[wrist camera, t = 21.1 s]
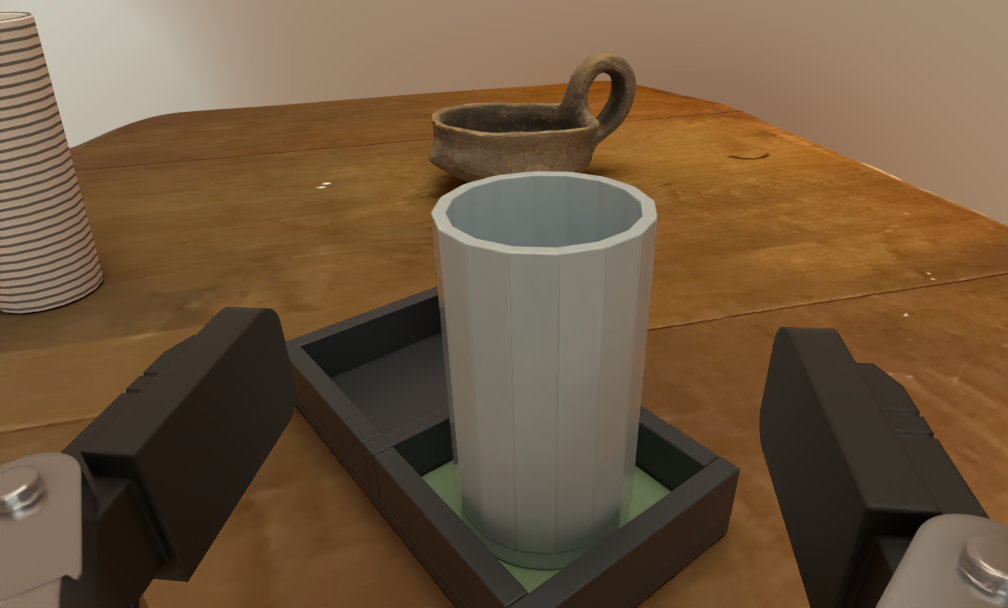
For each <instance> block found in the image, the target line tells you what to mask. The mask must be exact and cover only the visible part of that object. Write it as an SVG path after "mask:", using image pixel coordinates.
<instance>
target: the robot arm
mask: <svg viewBox="0 0 1008 608" xmlns="http://www.w3.org/2000/svg"><path fill="white" fill-rule="evenodd" d="M295 403H296V384H295V380H294V376H293V372H292V368H291V363H290V359H289V355H288V351H287V347H286V343H285V339H284V335H283V331H282V327H281V323H280V319H279V317H278V315H277V314H276V312H275V311H274V310H272V309H269V308H241V307H226V308H224V309H222V310H221V311H220V312H219V313H218V314H217V315H216V316H215V317H214V318H213V319H212V320H211V321H210V322H209V323H208V324H207V325H206V326H205V327H204V328H203V329H202V330H201V331H200V332H199V333H198V334H197V335H193V336H191V337H190V338H188V339H186V340H184V341H183V342H181V343H179V344H177V345H176V346H174V347H172V348H170V349H169V350H167V351H165V352H164V353H163V354H162V355H161V356H160V357H159V358H158V359H157V360H156V361H155V362H154V363H153V364H151V365H150V366H149V367H148V368H147V369H146V370H145V371H144V375H143V376H139V377H138V378H137V379H136V380H135V381H134V382H133V383H132V384H131V385H130V386H129V387H128V388H127V389H126V394H125V393H122V394H121V395H120V396H118V397H117V398H116V399H115V400H114V401H113V402H112V403H111V404H110V405H109V406H108V407H107V408H106V409H105V410H104V411H103V412H102V413H101V414H100V415H99V416H98V417H97V418H96V419H95V420H94V421H93V422H92V423H91V424H90V425H89V426H88V427H87V428H85V429H84V430H83V431H82V432H81V433H80V434H79V435H78V436H77V437H76V438H75V439H74V440H73V441H72V442H71V443H70V444H69V445H68V446H67V447H66V448H65V449H64V450H63V451H62V452H61V453H54V452H49V453H39V454H34V455H29V456H26V457H22V458H19V459H16V460H13V461H10V462H8V463H6V464H3V465H1V466H0V608H148V605H147V602H146V600H145V598H144V596H143V593H144V592H145V590H146V589H147V587H148V586H149V584H150V583H151V581H152V580H153V579H163V580H174V581H185V582H188V581H189V579H190V578H191V576H192V575H193V573H194V571H195V570H196V568H197V567H198V565H199V564H200V562H201V560H202V559H203V557H204V556H205V554H206V552H207V551H208V549H209V548H210V546H211V545H212V543H213V541H214V540H215V538H216V537H217V535H218V534H219V532H220V530H221V529H222V527H223V526H224V524H225V522H226V521H227V519H228V518H229V516H230V515H231V513H232V511H233V510H234V508H235V507H236V505H237V504H238V502H239V500H240V499H241V497H242V496H243V494H244V492H245V491H246V489H247V488H248V486H249V485H250V483H251V481H252V480H253V478H254V477H255V475H256V474H257V472H258V470H259V469H260V467H261V466H262V464H263V462H264V461H265V459H266V458H267V456H268V455H269V453H270V451H271V450H272V448H273V447H274V445H275V444H276V442H277V440H278V439H279V437H280V436H281V434H282V432H283V431H284V429H285V428H286V426H287V425H288V423H289V421H290V419H291V417H292V415H293V412H294V408H295ZM933 435H934V433H933V431H932V430H931V428H930V427H929V425H928V424H927V422H926V421H925V419H924V418H923V417H920V416H919V410H918V408H917V407H916V405H915V404H914V402H913V401H912V399H911V398H910V396H909V395H908V393H907V392H906V390H905V389H904V387H903V386H902V385H901V384H899V383H898V382H897V381H896V380H894V379H893V378H892V377H890V376H889V375H888V374H886V373H885V372H884V371H882V370H881V369H880V368H878V367H877V366H876V365H874V364H869V363H856V362H855V361H854V359H853V357H852V355H851V354H850V352H849V350H848V349H847V347H846V345H845V343H844V342H843V340H842V338H841V336H840V335H839V333H838V332H837V331H836V330H835V329H825V328H796V327H781V328H779V330H778V331H777V333H776V336H775V339H774V344H773V349H772V354H771V359H770V364H769V369H768V374H767V379H766V384H765V389H764V394H763V399H762V404H761V410H760V439H761V446H762V450H763V453H764V457H765V460H766V463H767V466H768V470H769V473H770V476H771V480H772V483H773V486H774V489H775V493H776V496H777V499H778V502H779V506H780V509H781V512H782V516H783V519H784V522H785V525H786V529H787V532H788V535H789V538H790V542H791V545H792V548H793V552H794V555H795V558H796V561H797V565H798V568H799V571H800V574H801V578H802V581H803V584H804V588H805V591H806V594H807V597H808V601H809V604H810V607H811V608H1008V526H1007V525H1005V524H1002V523H1000V522H997V521H994V520H991V519H989V517H988V516H987V514H986V512H985V511H984V509H983V508H982V506H981V505H980V503H979V502H978V500H977V499H976V497H975V496H974V494H973V493H972V491H971V490H970V488H969V486H968V485H967V483H966V482H965V480H964V479H963V477H962V476H961V474H960V473H959V471H958V470H957V468H956V467H955V465H954V464H953V462H952V460H951V459H950V457H949V456H948V454H947V453H946V451H945V450H944V448H943V447H942V445H941V444H940V442H939V441H938V439H934V436H933Z"/></svg>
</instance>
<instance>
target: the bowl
mask: <svg viewBox="0 0 1008 608" xmlns="http://www.w3.org/2000/svg"><path fill="white" fill-rule="evenodd" d="M603 72H604V73H607V74H608V75H610V77H611V81H612V82H611V93H610V96H609V99H608V101H607V103H606V105H605V106H604V108H603V110H602V111H601V112H600V114H599V115H598V116H597V117H596V118H595V117H594V115H593V114H592V113H591V111H590V109H589V106H588V102H587V95H588V90H589V87H590V85H591V83H592V82H593V80H594V79H595V78H596V76H597V75H598V74H600V73H603ZM635 93H636V79H635V75H634V72H633V70H632V68H631V66H630V65H629V63H628V62H626V60H624V59H623V58H622V57H620V56H618V55H615V54H612V53H608V52H602V53H597V54H595V55H593V56H590V57H588V58H587V59H586V60H584V61H583V62H582V63H581V64H580V65H579V66H578V67H577V69H576V70H575V71H574V72H573V74H572V76H571V79H570V81H569V84H568V87H567V90H566V93H565V95H564V98H563V100H562V102H561V103H551V104H538V103H527V104H522V103H496V102H495V103H474V104H464V105H457V106H452V107H448V108H444V109H441V110H438V111H436V112H435V113H434V114H433V115H432V116H431V117H432V124H433V129H434V140H433V147H432V150H431V151H430V154H429V156H430V161H431V163H432V164H434V165H436V166H437V167H439V168H441V169H442V170H444V171H446V172H448V173H450V174H451V175H453V176H455V177H457V178H459V179H461V180H464V181H466V182H469V183H470V182H474V181H478V180H481V179H485V178H489V177H492V176H497V175H505V174H513V173H522V172H533V171H545V172H575V173H582V172H583V171H584V170H585V169H586V168H587V167H588V166H589V164H590V162H591V160H592V154H593V152H594V149H595V148H596V146H597V145H598V143H600V142H601V141H602V140H603V139H605V138H606V137H607V136H608V135H609V134H611V133H612V132H614V131H615V130H616V129H617V128H618V127H619V126H620V125H621V124H622V122H623V121H624V119H625V118H626V116H627V114H628V113H629V111H630V108H631V106H632V103H633V100H634V97H635Z"/></svg>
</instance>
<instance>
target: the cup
mask: <svg viewBox="0 0 1008 608" xmlns="http://www.w3.org/2000/svg"><path fill="white" fill-rule="evenodd" d="M102 280H103V274H102V270H101V266H100V263H99V259H98V255H97V251H96V248H95V244H94V240H93V236H92V233H91V229H90V225H89V222H88V218H87V214H86V210H85V207H84V203H83V199H82V195H81V192H80V188H79V184H78V180H77V177H76V173H75V169H74V166H73V162H72V158H71V154H70V151H69V147H68V143H67V139H66V136H65V132H64V129H63V125H62V121H61V117H60V114H59V110H58V106H57V102H56V98H55V95H54V91H53V87H52V83H51V80H50V76H49V73H48V69H47V65H46V61H45V57H44V54H43V50H42V46H41V43H40V39H39V35H38V31H37V28H36V24H35V20H34V16H33V15H32V14H31V13H27V12H0V310H1V311H3V312H10V313H27V312H36V311H43V310H47V309H50V308H54V307H58V306H62V305H65V304H67V303H70V302H72V301H75V300H77V299H79V298H82V297H84V296H86V295H87V294H89V293H90V292H92V291H93V290H95V289H96V288H97V287H98V286H99V284H100V283H101V282H102Z"/></svg>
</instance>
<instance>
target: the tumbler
mask: <svg viewBox="0 0 1008 608" xmlns="http://www.w3.org/2000/svg"><path fill="white" fill-rule="evenodd" d="M657 220H658V217H657V211H656V206H655V202H654V200H653V199H651V198H650V197H648V196H647V195H646V194H644V193H643V192H642V191H640V190H639V189H638V188H636V187H634V186H631V185H628V184H625V183H622V182H619V181H616V180H613V179H610V178H607V177H602V176H595V175H588V174H582V173H575V172H545V171H533V172H522V173H513V174H505V175H497V176H492V177H489V178H485V179H481V180H478V181H474V182H470V183H467V184H464V185H461V186H460V187H458V188H456V189H454V190H452V191H451V192H449V193H447V194H445V195H443V196H442V197H441V198H440V199H439V200H438V202H437V204H436V205H435V207H434V209H433V210H432V212H431V222H432V233H433V243H434V254H435V265H436V276H437V287H438V298H439V309H440V320H441V330H442V341H443V352H444V363H445V374H446V385H447V396H448V407H449V418H450V428H451V439H452V450H453V461H454V472H455V483H456V490H457V494H458V501H459V510H460V515H461V518H462V521H463V522H464V523H465V524H466V526H467V527H468V528H469V529H470V530H471V531H472V532H473V533H474V534H475V535H476V536H477V537H478V538H479V540H480V541H481V542H482V543H483V544H484V545H485V546H486V547H487V548H488V549H489V550H490V551H491V552H492V554H493V555H494V556H495V557H497V558H499V559H500V560H503V561H505V562H508V563H510V564H513V565H517V566H521V567H525V568H531V569H544V570H551V569H562V568H565V567H566V566H568V565H569V564H570V563H572V562H573V561H575V560H576V559H577V558H579V557H580V556H582V555H583V554H584V553H586V552H587V551H589V550H590V549H591V548H593V547H594V546H596V545H597V544H598V543H600V542H601V541H603V540H604V539H605V538H607V537H608V536H610V535H611V534H612V533H614V532H615V531H617V530H618V529H619V528H621V527H622V526H624V525H625V524H626V523H627V521H628V517H629V512H630V504H631V501H632V493H633V482H634V472H635V461H636V450H637V439H638V428H639V417H640V406H641V395H642V384H643V373H644V362H645V351H646V340H647V330H648V319H649V308H650V297H651V286H652V275H653V264H654V253H655V242H656V231H657Z"/></svg>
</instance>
